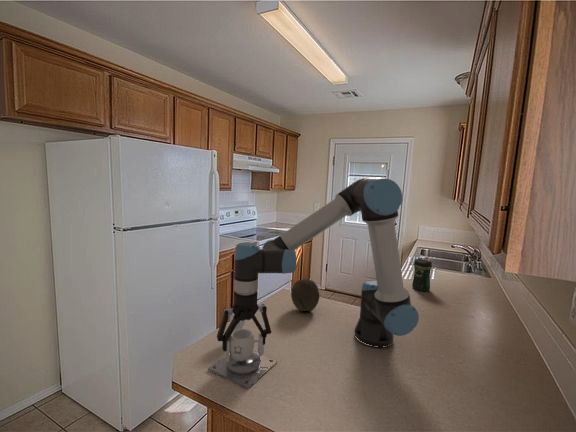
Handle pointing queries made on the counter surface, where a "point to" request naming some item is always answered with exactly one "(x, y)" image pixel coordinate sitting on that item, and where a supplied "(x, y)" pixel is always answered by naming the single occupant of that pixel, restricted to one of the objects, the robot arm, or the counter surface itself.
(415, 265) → the coffee jar
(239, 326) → the lightbulb
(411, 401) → the counter surface
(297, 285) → the coconut
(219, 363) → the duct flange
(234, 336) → the mug
